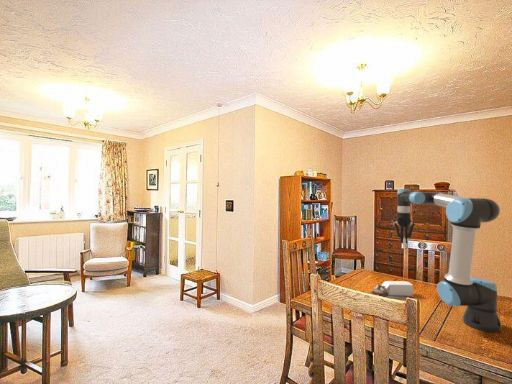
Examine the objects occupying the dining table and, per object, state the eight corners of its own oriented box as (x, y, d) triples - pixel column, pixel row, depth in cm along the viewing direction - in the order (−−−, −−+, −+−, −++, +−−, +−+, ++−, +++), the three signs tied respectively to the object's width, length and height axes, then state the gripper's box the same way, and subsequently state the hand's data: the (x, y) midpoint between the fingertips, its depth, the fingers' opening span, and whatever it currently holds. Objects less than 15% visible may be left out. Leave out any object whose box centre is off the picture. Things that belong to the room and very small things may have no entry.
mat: (413, 299, 170) (413, 299, 170) (383, 297, 174) (383, 296, 174) (402, 288, 190) (402, 288, 190) (376, 287, 194) (376, 286, 194)
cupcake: (371, 297, 174) (372, 282, 174) (388, 300, 169) (388, 284, 169) (369, 302, 165) (369, 286, 165) (387, 306, 160) (387, 289, 160)
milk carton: (407, 281, 183) (379, 280, 184) (413, 284, 176) (383, 284, 177) (407, 291, 183) (379, 291, 184) (413, 295, 176) (383, 295, 177)
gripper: (412, 212, 183) (412, 247, 182) (391, 211, 185) (391, 246, 185) (416, 212, 175) (416, 249, 175) (394, 212, 178) (394, 248, 177)
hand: (403, 248), depth 180 cm, fingers closed
